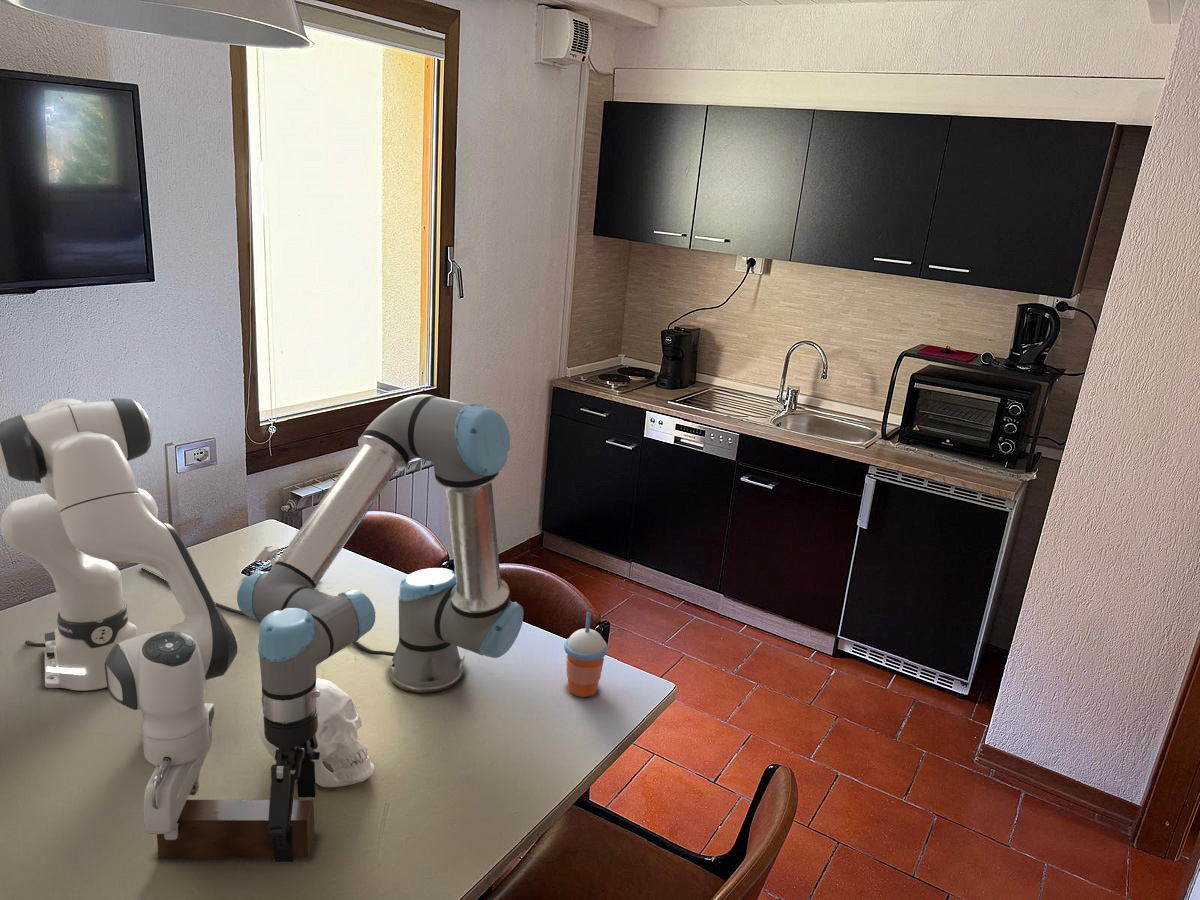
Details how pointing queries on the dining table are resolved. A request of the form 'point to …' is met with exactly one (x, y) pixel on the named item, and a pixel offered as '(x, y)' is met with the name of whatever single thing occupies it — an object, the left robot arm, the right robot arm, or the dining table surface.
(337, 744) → the skull
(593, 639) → the cup with straw
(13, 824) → the dining table surface
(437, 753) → the dining table surface
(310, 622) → the right robot arm
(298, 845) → the walnut beam
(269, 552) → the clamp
